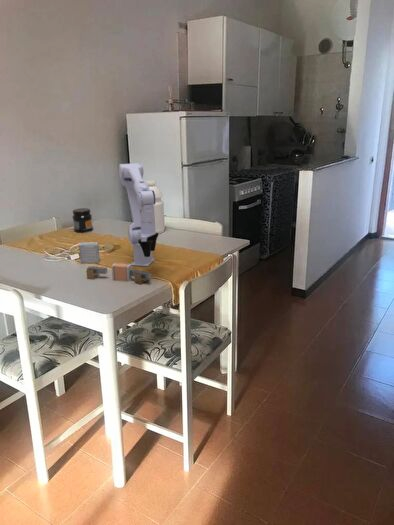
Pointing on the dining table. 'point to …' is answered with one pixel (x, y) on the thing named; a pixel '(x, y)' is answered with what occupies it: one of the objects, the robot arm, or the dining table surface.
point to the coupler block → (121, 272)
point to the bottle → (157, 207)
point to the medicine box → (89, 252)
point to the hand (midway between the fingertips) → (149, 253)
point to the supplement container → (82, 220)
